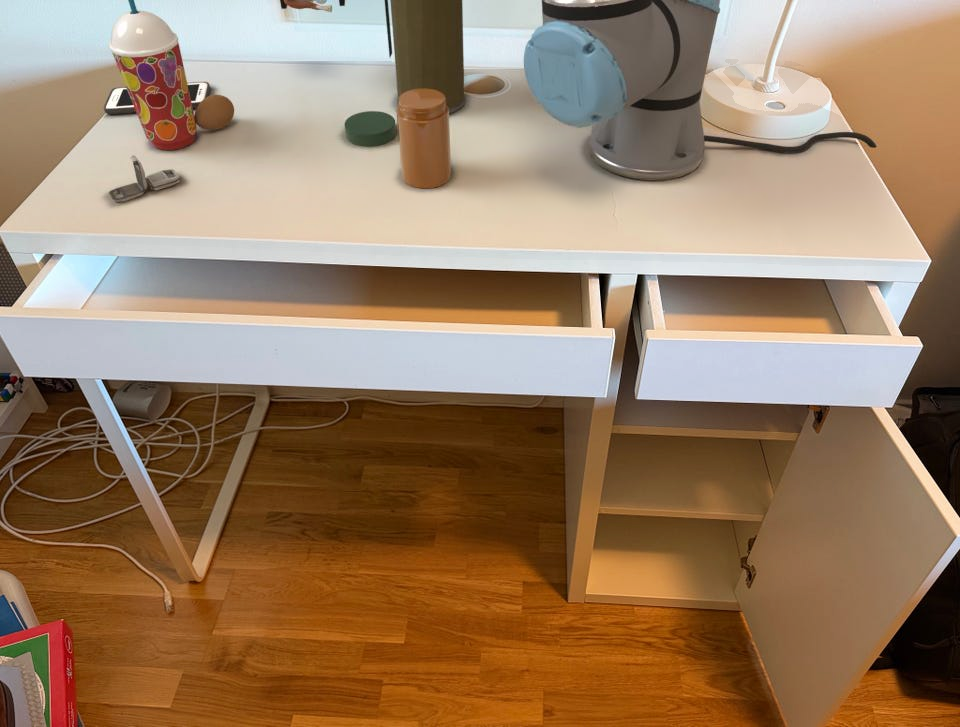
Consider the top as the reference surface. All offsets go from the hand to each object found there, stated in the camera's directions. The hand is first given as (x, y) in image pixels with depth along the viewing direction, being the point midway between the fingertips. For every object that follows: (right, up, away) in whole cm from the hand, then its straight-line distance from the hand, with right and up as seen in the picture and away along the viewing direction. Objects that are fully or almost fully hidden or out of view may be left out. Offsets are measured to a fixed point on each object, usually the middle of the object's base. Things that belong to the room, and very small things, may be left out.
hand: (313, 4), depth 113 cm
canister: (+17, -14, +1) cm, 23 cm away
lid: (+10, -21, -7) cm, 24 cm away
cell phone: (-24, -14, +2) cm, 28 cm away
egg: (-11, -16, -5) cm, 20 cm away
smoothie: (-18, -23, -7) cm, 30 cm away
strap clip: (-18, -32, -17) cm, 40 cm away
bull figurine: (+4, +1, -1) cm, 4 cm away
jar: (+18, -29, -15) cm, 38 cm away
